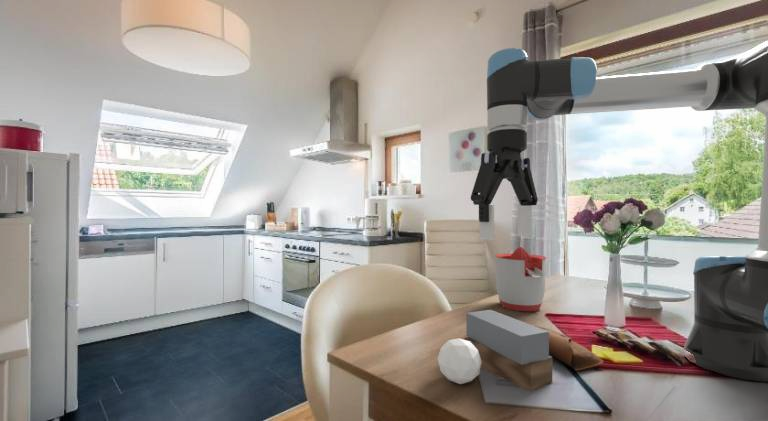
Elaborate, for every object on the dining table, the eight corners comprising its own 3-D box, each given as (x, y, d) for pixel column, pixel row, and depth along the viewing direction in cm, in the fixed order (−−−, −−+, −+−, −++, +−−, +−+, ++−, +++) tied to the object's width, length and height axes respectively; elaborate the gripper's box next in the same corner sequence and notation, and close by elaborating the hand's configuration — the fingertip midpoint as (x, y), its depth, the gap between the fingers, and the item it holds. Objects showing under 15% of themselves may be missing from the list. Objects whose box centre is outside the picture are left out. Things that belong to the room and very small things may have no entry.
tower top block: (548, 358, 67) (548, 331, 67) (521, 364, 64) (521, 336, 64) (490, 332, 81) (490, 309, 81) (466, 335, 79) (466, 312, 79)
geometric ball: (452, 369, 73) (452, 329, 73) (489, 382, 67) (489, 339, 67) (429, 382, 67) (429, 338, 67) (467, 397, 62) (467, 350, 62)
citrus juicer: (514, 317, 108) (515, 250, 108) (486, 303, 125) (486, 244, 125) (561, 314, 111) (561, 249, 111) (527, 301, 128) (527, 244, 128)
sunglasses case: (608, 360, 73) (591, 336, 72) (584, 385, 72) (567, 360, 71) (548, 331, 91) (533, 311, 90) (528, 350, 89) (513, 330, 88)
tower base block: (552, 383, 68) (552, 356, 68) (531, 393, 64) (531, 364, 64) (484, 355, 81) (484, 332, 81) (463, 361, 77) (464, 338, 77)
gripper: (521, 141, 83) (522, 234, 83) (451, 125, 67) (451, 240, 67) (554, 136, 77) (554, 236, 77) (486, 117, 61) (486, 242, 61)
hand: (506, 238), depth 72 cm, fingers open, 13 cm apart
